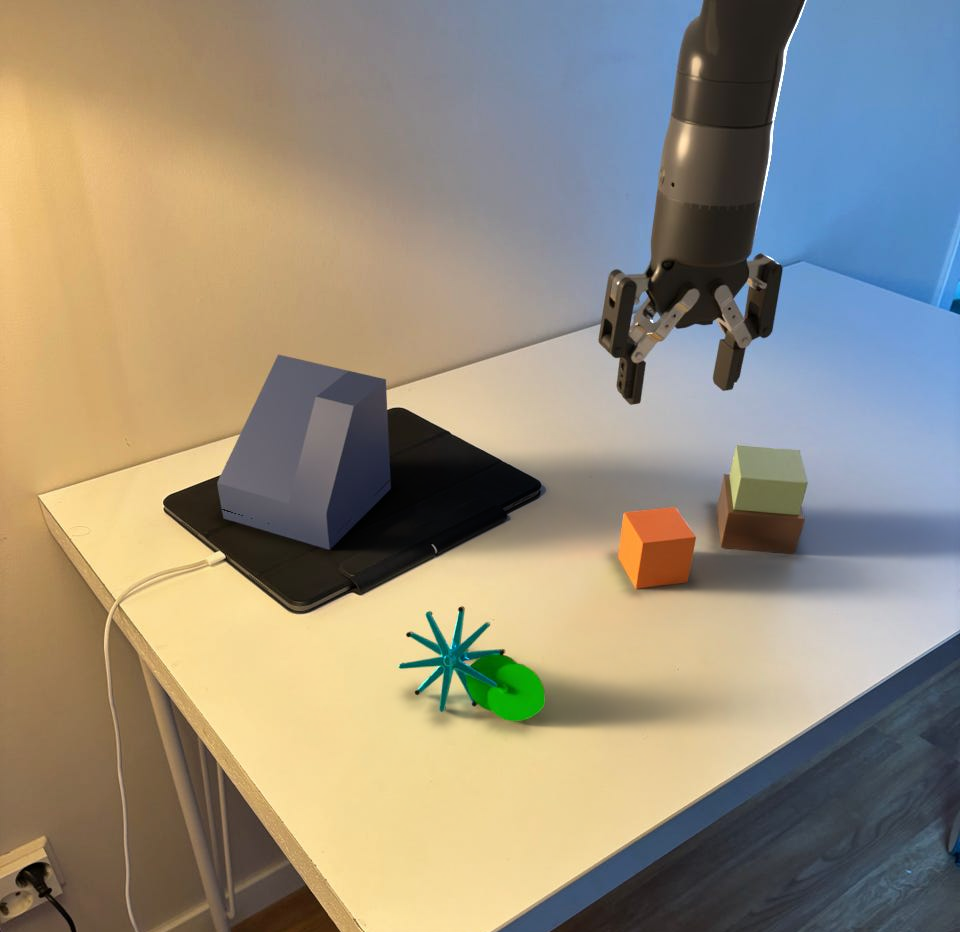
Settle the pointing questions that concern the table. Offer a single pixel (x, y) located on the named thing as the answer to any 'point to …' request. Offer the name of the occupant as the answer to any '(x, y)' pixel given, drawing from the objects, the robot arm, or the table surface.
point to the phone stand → (309, 453)
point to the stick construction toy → (481, 673)
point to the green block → (767, 480)
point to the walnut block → (756, 526)
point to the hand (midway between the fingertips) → (677, 393)
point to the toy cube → (656, 547)
